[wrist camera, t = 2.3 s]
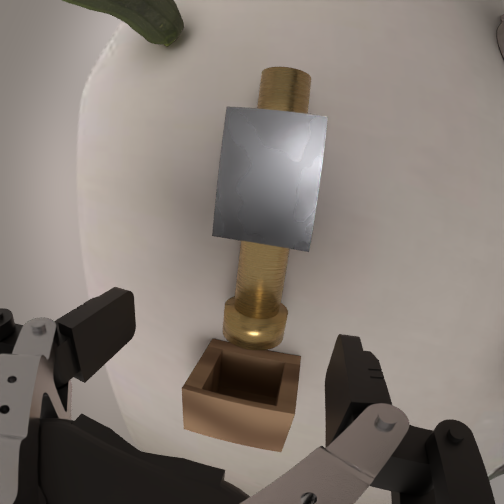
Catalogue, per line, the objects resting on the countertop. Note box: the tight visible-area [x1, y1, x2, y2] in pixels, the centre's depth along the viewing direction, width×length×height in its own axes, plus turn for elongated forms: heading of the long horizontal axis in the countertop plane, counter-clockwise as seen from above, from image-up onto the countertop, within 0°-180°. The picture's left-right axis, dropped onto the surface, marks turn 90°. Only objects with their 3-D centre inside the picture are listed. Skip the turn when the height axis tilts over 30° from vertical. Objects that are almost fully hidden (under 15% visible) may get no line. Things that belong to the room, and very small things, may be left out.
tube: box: [223, 67, 311, 350], centre depth 17 cm, size 17×4×4 cm, turn 173°
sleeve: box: [212, 107, 328, 252], centre depth 17 cm, size 7×5×7 cm
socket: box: [182, 339, 301, 452], centre depth 21 cm, size 5×8×7 cm, turn 83°
